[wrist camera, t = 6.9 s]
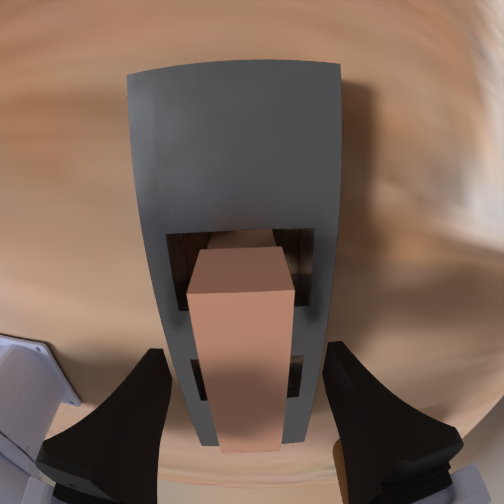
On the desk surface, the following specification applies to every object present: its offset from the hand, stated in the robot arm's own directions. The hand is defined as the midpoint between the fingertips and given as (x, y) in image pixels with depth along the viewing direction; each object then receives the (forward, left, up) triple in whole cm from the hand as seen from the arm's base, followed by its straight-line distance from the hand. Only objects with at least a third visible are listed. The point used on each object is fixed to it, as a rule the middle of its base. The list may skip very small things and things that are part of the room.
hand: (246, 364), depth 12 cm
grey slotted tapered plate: (0, 0, -5) cm, 5 cm away
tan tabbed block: (0, 0, -5) cm, 5 cm away
